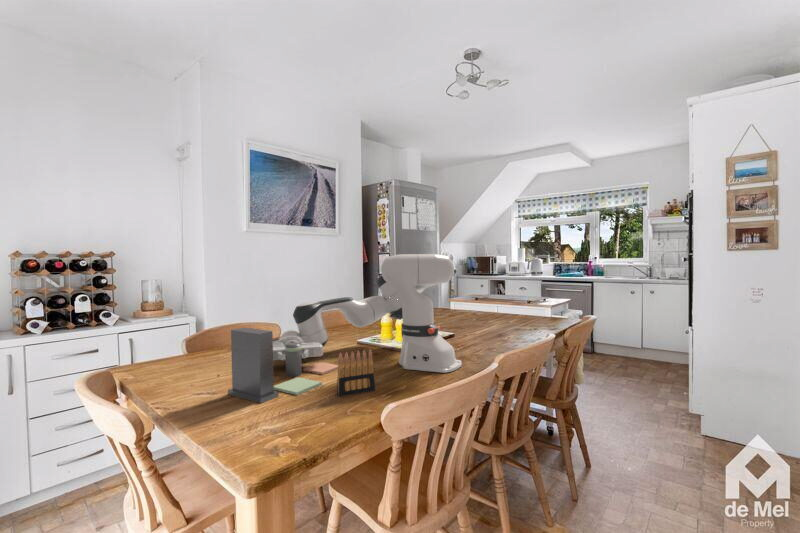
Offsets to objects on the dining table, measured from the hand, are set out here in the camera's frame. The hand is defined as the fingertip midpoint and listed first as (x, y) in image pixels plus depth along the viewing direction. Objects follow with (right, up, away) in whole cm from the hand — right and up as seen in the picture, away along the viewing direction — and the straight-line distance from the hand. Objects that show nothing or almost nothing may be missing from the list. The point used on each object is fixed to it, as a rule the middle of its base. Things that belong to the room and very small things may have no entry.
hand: (293, 357), depth 126 cm
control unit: (-7, -7, -17) cm, 20 cm away
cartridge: (0, -6, +1) cm, 6 cm away
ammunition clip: (+22, -6, -16) cm, 28 cm away
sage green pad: (+4, -6, -11) cm, 13 cm away
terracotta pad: (+8, -6, +7) cm, 12 cm away
